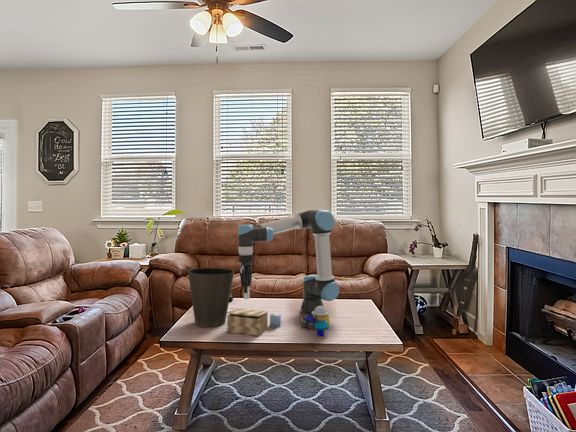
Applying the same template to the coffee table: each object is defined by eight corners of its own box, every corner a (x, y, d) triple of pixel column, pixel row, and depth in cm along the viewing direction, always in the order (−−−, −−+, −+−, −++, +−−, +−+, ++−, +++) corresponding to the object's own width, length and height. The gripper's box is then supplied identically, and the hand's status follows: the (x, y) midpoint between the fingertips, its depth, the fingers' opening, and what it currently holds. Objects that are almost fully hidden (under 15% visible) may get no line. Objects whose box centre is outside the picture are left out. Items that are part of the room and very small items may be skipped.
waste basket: (239, 319, 215) (239, 268, 214) (227, 331, 195) (226, 275, 194) (197, 316, 221) (196, 267, 220) (180, 327, 201) (180, 273, 200)
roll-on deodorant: (282, 324, 206) (282, 313, 206) (278, 327, 201) (278, 316, 200) (272, 323, 208) (272, 312, 208) (268, 326, 202) (268, 315, 202)
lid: (267, 312, 198) (267, 310, 198) (259, 316, 187) (259, 315, 187) (237, 309, 204) (237, 307, 204) (227, 313, 192) (227, 311, 192)
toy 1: (317, 335, 195) (334, 324, 206) (315, 323, 194) (332, 312, 205) (298, 329, 205) (315, 318, 215) (296, 317, 204) (314, 307, 214)
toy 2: (310, 331, 194) (310, 303, 194) (326, 331, 195) (327, 303, 194) (313, 337, 186) (313, 308, 185) (330, 337, 186) (330, 308, 186)
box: (267, 329, 198) (267, 312, 198) (258, 336, 187) (258, 319, 187) (237, 325, 204) (237, 309, 204) (227, 332, 192) (227, 315, 192)
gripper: (244, 252, 199) (245, 295, 200) (233, 255, 187) (234, 301, 188) (257, 252, 197) (258, 295, 198) (247, 256, 184) (248, 302, 185)
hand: (246, 298), depth 193 cm, fingers closed
